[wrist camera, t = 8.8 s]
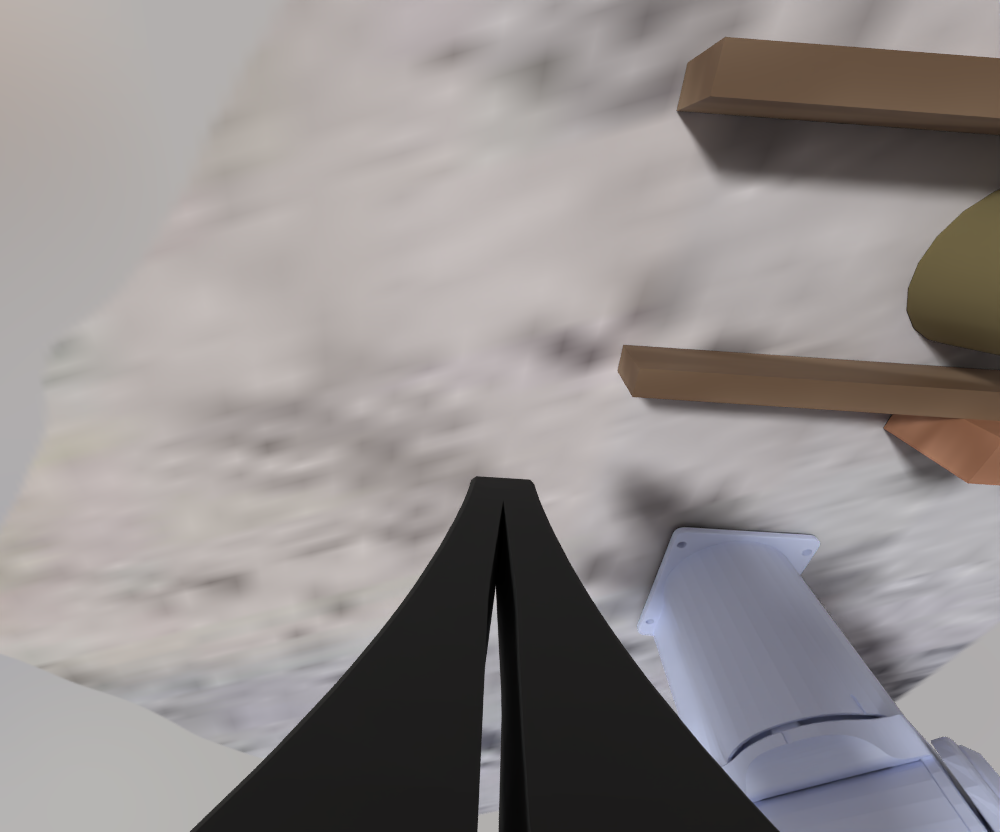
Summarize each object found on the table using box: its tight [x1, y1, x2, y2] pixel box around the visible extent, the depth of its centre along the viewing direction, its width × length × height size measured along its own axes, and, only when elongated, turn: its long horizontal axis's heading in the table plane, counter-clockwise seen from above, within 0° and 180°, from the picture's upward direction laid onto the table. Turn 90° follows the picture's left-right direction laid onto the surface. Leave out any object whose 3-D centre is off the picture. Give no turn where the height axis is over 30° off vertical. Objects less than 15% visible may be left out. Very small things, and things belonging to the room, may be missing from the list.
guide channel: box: [618, 37, 1000, 485], centre depth 13 cm, size 14×21×4 cm
